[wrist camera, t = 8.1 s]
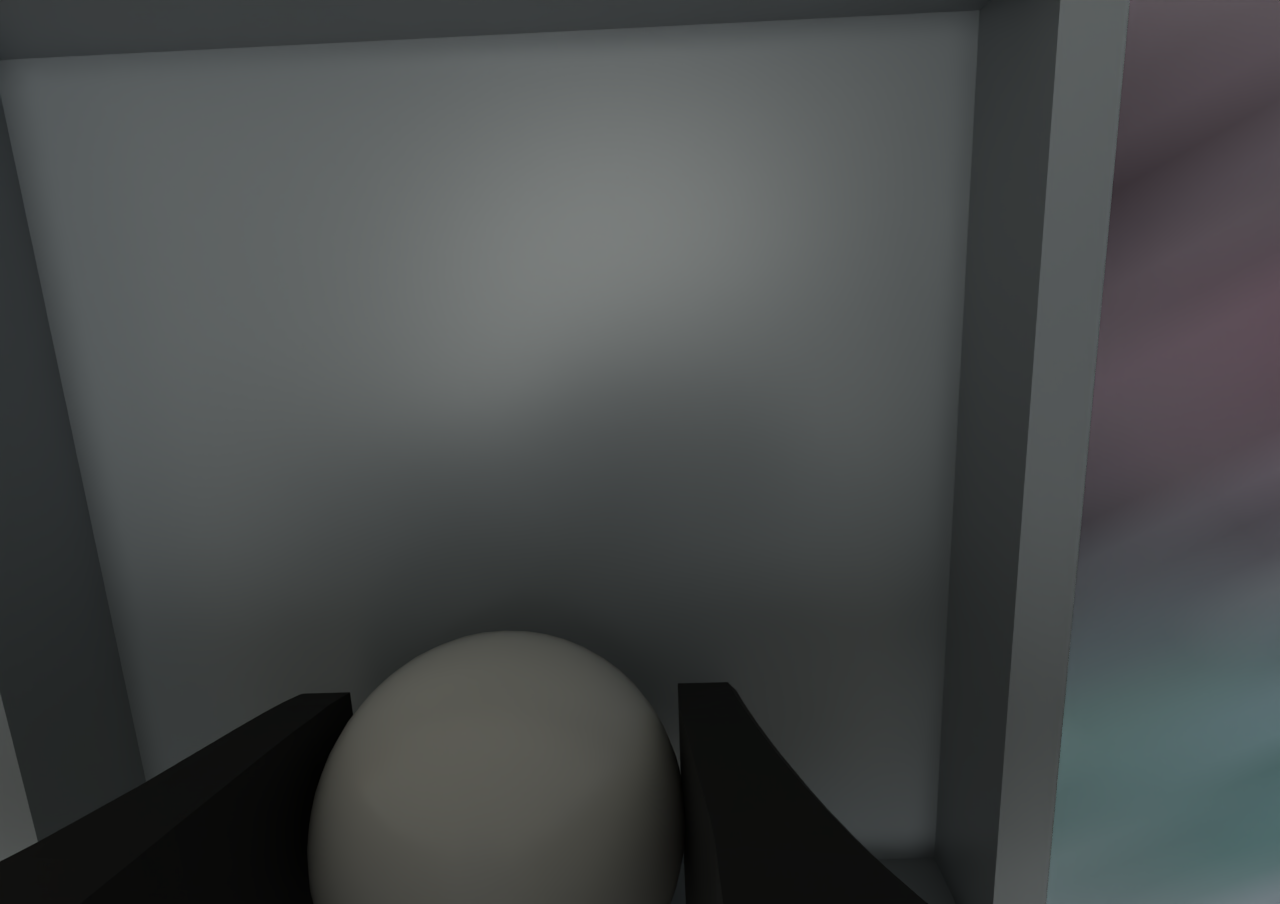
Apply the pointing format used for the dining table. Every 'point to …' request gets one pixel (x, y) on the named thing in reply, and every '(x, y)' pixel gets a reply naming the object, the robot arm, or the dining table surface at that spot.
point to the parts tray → (558, 377)
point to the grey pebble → (500, 784)
